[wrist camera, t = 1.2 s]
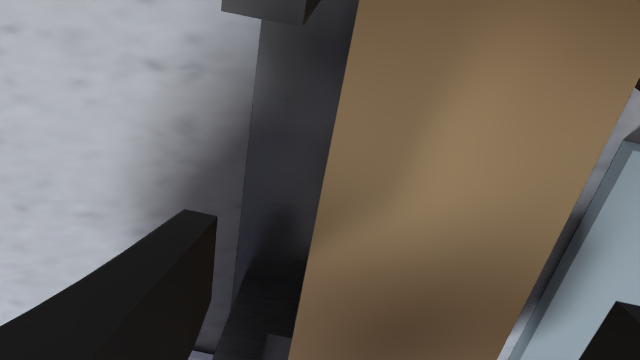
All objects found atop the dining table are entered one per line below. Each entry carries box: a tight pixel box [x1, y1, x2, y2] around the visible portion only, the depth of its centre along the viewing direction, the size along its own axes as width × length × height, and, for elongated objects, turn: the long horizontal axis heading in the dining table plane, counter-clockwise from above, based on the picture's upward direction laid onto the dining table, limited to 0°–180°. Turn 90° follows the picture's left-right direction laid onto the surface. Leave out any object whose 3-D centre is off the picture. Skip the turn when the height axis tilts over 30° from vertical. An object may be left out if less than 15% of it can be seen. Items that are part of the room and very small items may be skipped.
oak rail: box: [288, 0, 640, 360], centre depth 10 cm, size 16×4×4 cm, turn 170°
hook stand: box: [212, 0, 640, 360], centre depth 12 cm, size 18×8×5 cm, turn 170°
